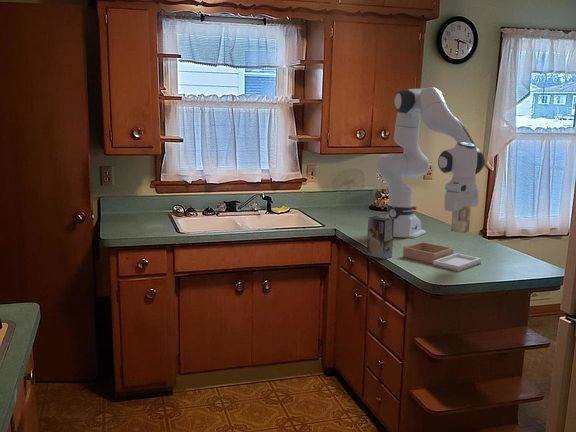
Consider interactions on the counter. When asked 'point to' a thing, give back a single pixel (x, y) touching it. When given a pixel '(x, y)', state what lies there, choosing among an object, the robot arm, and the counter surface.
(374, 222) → the coffee box
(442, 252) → the terracotta square frame
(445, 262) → the white tray
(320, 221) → the counter surface
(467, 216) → the maple block
